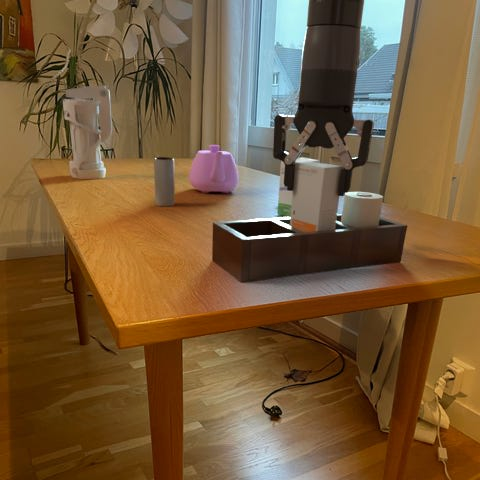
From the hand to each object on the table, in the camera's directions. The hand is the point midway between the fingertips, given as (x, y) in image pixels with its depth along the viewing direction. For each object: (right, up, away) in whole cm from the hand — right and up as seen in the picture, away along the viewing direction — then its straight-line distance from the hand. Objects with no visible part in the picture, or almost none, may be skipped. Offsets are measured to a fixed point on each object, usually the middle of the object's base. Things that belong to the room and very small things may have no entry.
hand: (316, 192), depth 71 cm
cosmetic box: (0, -7, +3) cm, 8 cm away
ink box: (+1, +5, +37) cm, 37 cm away
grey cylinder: (-29, +8, +40) cm, 50 cm away
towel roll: (+8, -8, +8) cm, 14 cm away
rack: (-1, -10, +4) cm, 11 cm away
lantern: (-56, +24, +73) cm, 96 cm away
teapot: (-18, +16, +59) cm, 64 cm away
